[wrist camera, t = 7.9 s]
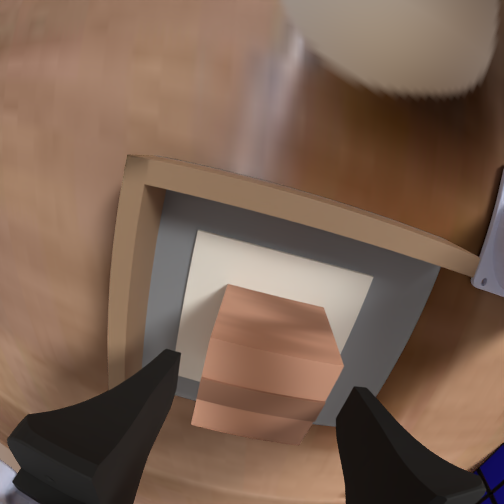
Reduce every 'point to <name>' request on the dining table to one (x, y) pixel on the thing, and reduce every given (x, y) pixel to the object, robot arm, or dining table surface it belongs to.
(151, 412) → the robot arm
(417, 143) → the dining table surface
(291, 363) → the block
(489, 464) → the puzzle cube
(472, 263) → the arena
